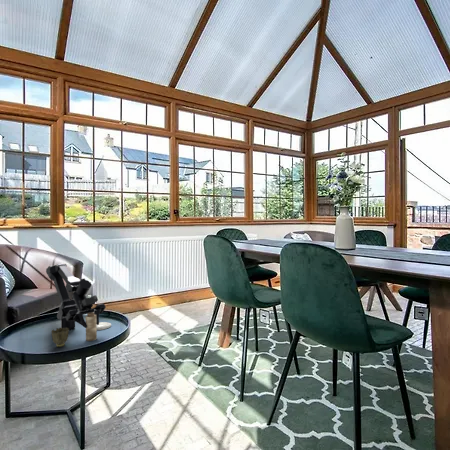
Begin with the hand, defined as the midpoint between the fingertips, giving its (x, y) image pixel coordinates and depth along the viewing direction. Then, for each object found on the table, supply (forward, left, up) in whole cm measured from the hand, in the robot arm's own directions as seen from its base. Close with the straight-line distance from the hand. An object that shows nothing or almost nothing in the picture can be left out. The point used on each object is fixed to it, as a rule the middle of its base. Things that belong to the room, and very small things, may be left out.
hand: (92, 326), depth 164 cm
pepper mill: (0, +1, -7) cm, 7 cm away
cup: (-14, -1, -7) cm, 16 cm away
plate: (+8, +19, -7) cm, 22 cm away
